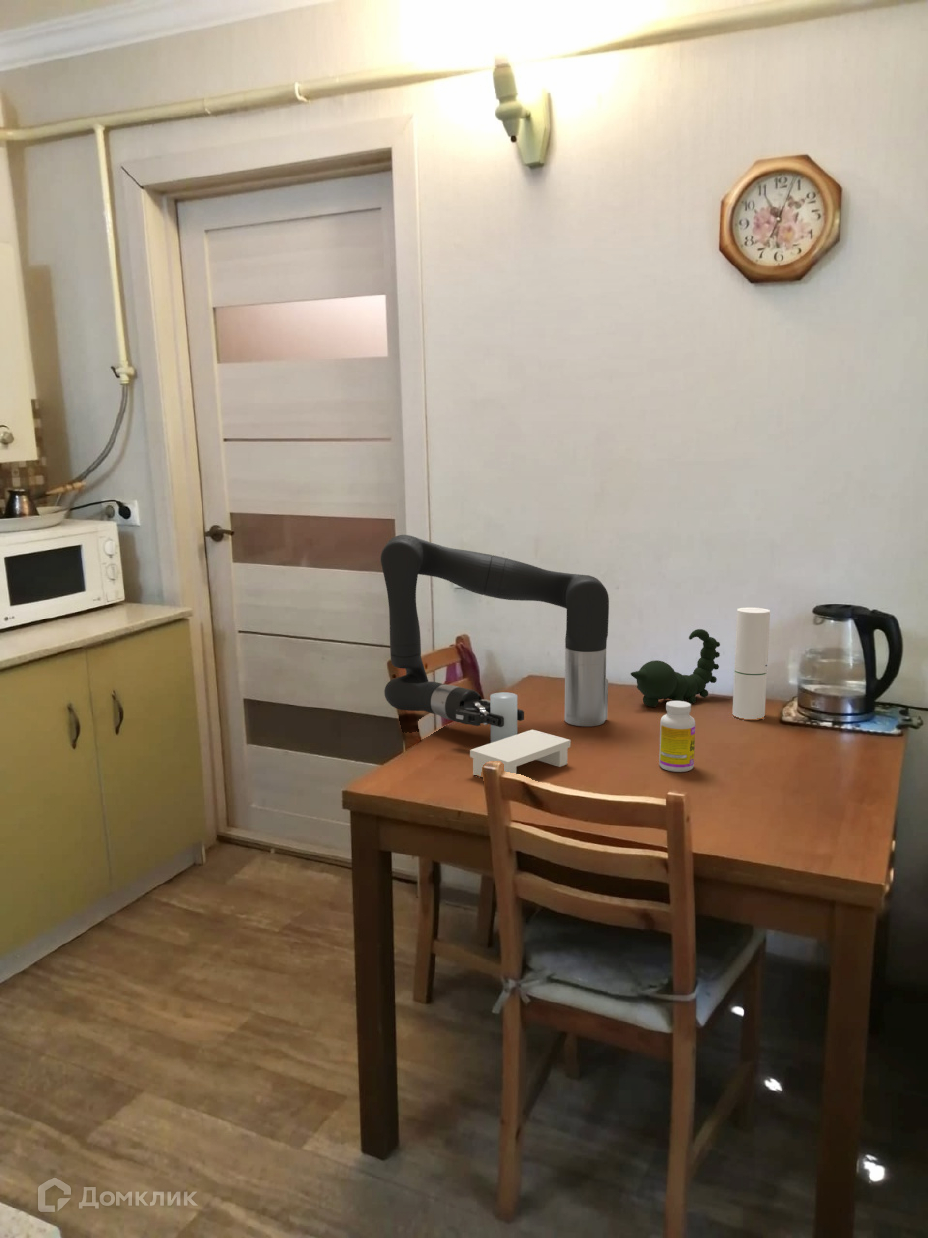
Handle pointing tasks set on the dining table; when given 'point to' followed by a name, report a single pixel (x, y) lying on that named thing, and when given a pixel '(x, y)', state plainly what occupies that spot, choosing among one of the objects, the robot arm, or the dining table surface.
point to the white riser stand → (522, 751)
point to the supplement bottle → (677, 737)
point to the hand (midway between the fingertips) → (512, 718)
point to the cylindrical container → (751, 662)
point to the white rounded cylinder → (504, 715)
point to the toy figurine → (678, 676)
